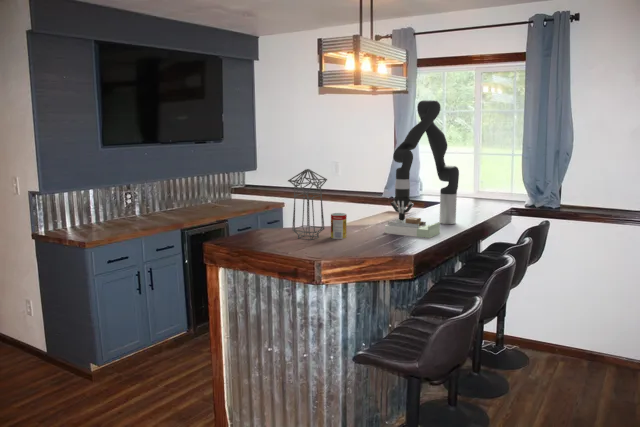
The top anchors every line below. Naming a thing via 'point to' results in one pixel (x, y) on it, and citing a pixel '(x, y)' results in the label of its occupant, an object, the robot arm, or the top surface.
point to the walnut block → (413, 220)
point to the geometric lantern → (308, 201)
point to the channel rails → (404, 224)
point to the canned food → (338, 225)
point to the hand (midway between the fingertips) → (401, 220)
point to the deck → (415, 230)
